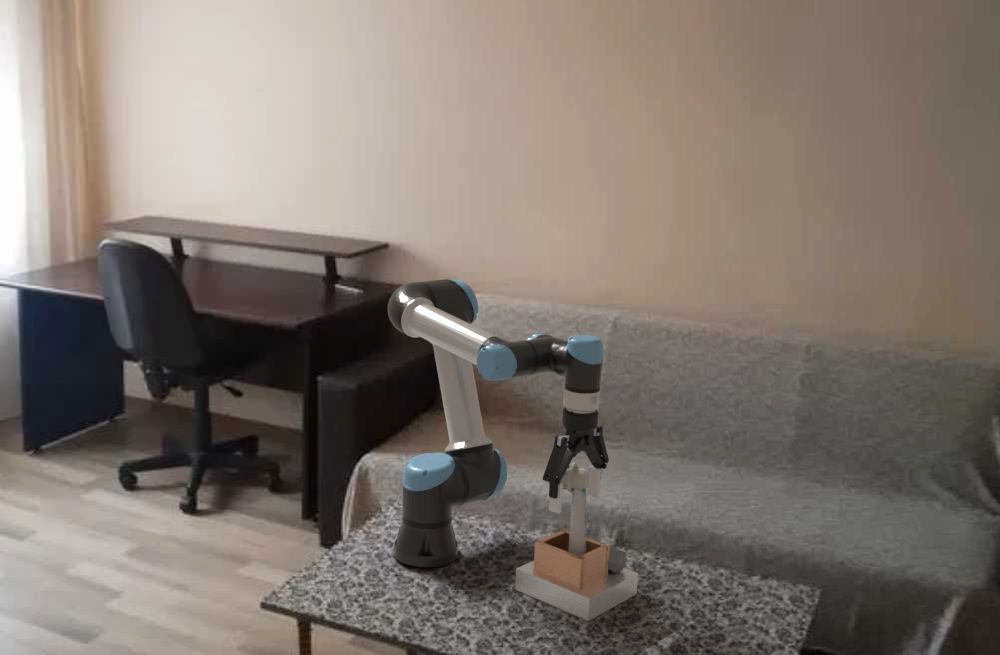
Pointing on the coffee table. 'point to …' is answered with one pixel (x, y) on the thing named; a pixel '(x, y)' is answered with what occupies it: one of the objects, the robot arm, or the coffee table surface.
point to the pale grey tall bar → (577, 507)
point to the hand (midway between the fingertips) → (574, 503)
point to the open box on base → (577, 576)
